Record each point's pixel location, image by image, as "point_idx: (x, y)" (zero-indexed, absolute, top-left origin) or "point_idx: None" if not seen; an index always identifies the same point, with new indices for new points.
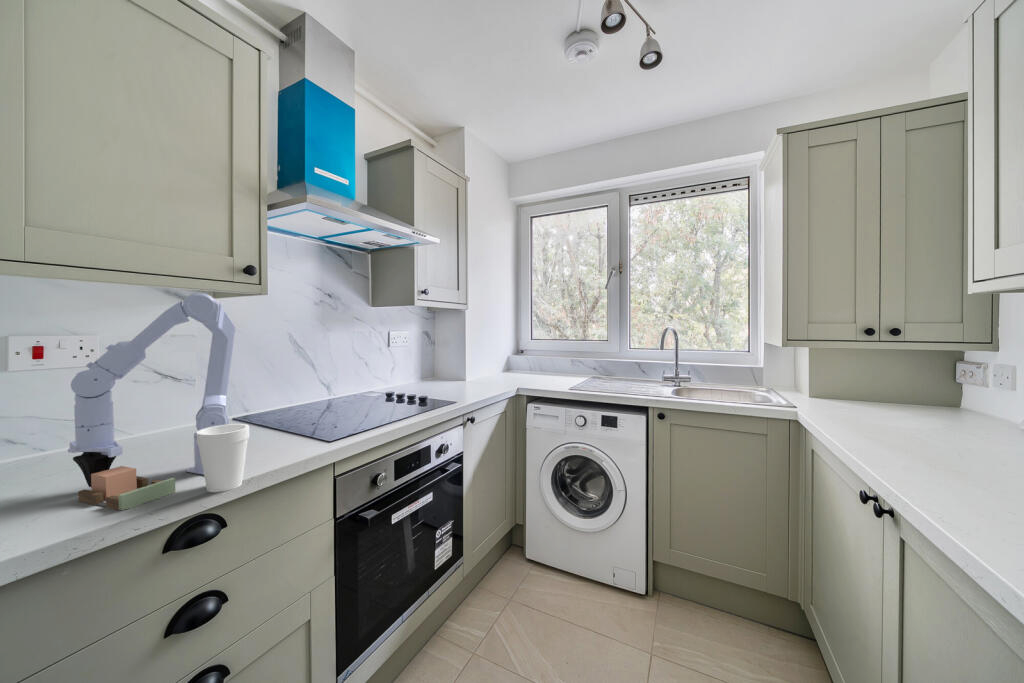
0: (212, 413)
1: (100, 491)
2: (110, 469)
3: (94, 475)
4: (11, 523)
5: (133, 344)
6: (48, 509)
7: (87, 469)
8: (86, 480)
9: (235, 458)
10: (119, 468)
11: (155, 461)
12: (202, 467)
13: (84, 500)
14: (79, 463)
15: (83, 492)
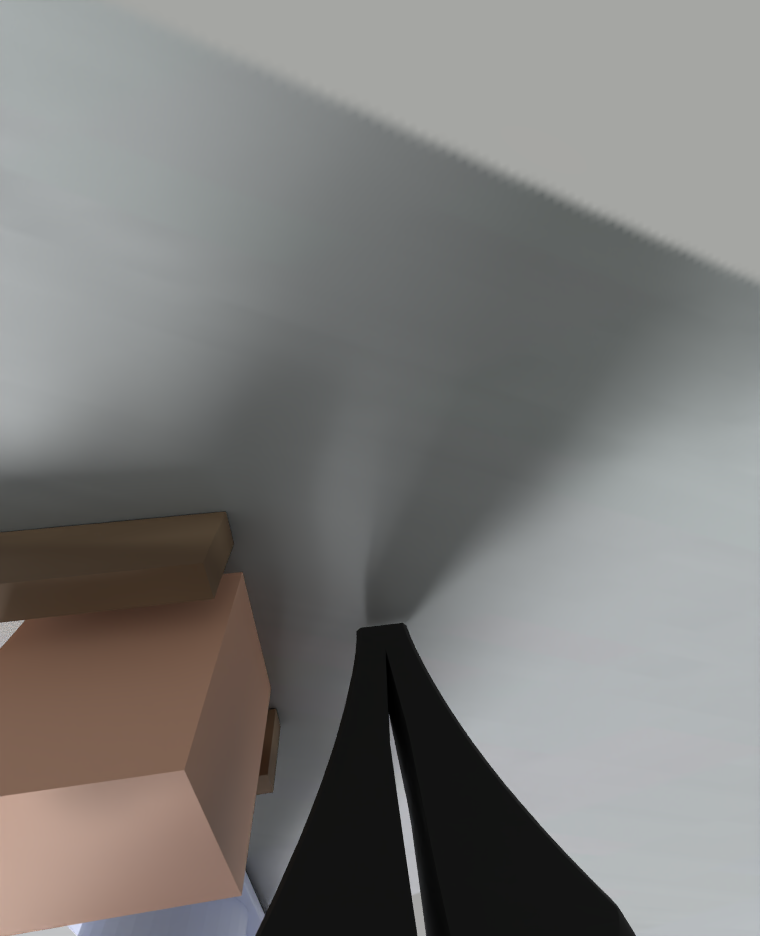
0: None
1: (98, 632)
2: (204, 854)
3: (119, 770)
4: (41, 2)
5: None
6: (220, 349)
7: (346, 799)
8: (414, 662)
9: None
10: (161, 885)
11: (579, 825)
12: (104, 931)
13: (135, 528)
14: (483, 867)
15: (119, 573)
